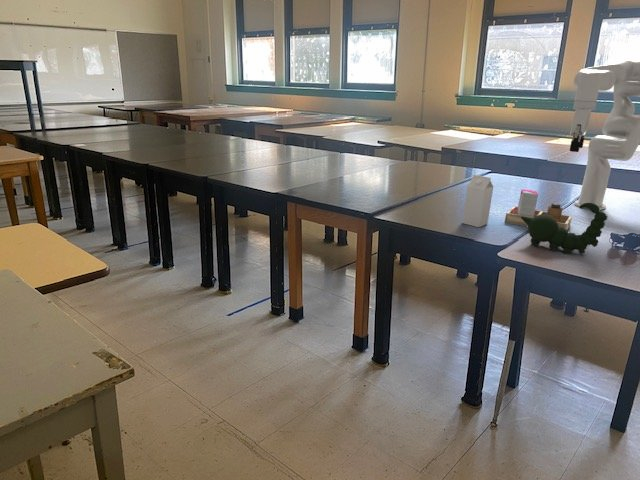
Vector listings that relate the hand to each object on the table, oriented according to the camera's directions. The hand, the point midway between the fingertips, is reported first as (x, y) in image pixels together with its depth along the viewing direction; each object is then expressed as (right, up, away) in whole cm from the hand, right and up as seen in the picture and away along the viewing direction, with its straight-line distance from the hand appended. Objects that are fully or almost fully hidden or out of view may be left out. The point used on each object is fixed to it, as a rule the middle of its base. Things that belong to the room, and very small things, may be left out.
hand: (576, 149), depth 192 cm
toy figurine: (-22, -39, -27) cm, 53 cm away
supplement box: (-20, -28, +2) cm, 34 cm away
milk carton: (-42, -30, -4) cm, 51 cm away
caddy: (-16, -30, -1) cm, 34 cm away
